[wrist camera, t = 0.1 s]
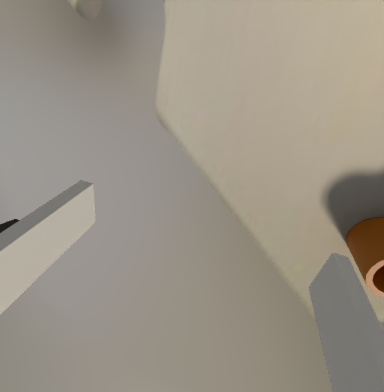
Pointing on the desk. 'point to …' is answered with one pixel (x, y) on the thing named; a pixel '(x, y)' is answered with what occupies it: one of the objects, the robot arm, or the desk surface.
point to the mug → (369, 252)
